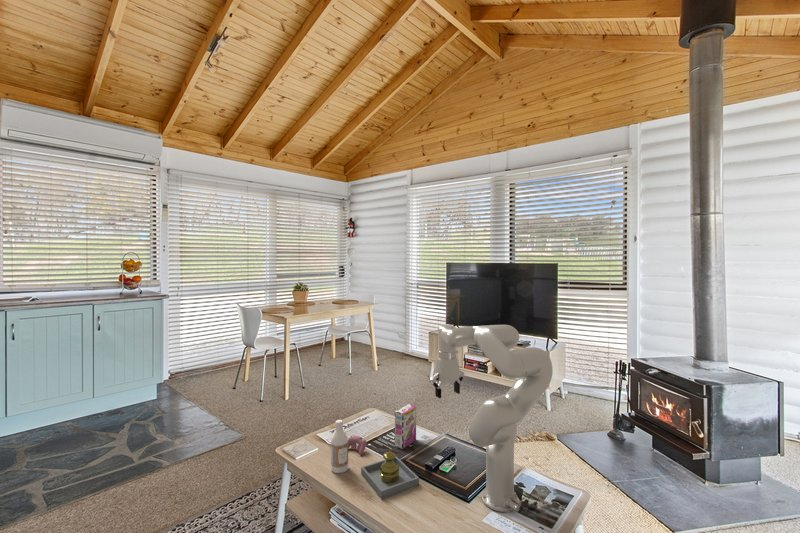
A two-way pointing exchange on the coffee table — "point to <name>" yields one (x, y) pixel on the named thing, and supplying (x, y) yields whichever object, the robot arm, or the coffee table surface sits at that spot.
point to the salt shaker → (389, 468)
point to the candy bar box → (405, 426)
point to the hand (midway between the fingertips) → (447, 394)
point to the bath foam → (339, 449)
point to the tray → (389, 489)
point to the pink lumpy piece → (358, 440)
